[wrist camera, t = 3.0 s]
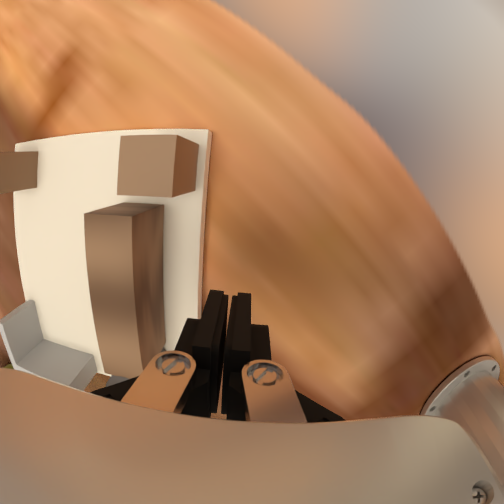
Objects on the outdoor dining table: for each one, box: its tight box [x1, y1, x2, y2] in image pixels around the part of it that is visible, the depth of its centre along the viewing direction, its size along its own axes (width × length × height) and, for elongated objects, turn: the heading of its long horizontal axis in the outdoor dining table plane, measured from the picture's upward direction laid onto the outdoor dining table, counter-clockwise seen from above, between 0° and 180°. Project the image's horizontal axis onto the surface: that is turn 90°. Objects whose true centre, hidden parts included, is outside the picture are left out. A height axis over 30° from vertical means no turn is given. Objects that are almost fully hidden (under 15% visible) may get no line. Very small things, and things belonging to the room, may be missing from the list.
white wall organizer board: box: [0, 129, 212, 391], centre depth 18 cm, size 18×21×6 cm
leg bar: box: [84, 202, 166, 387], centre depth 17 cm, size 14×3×5 cm, turn 175°
